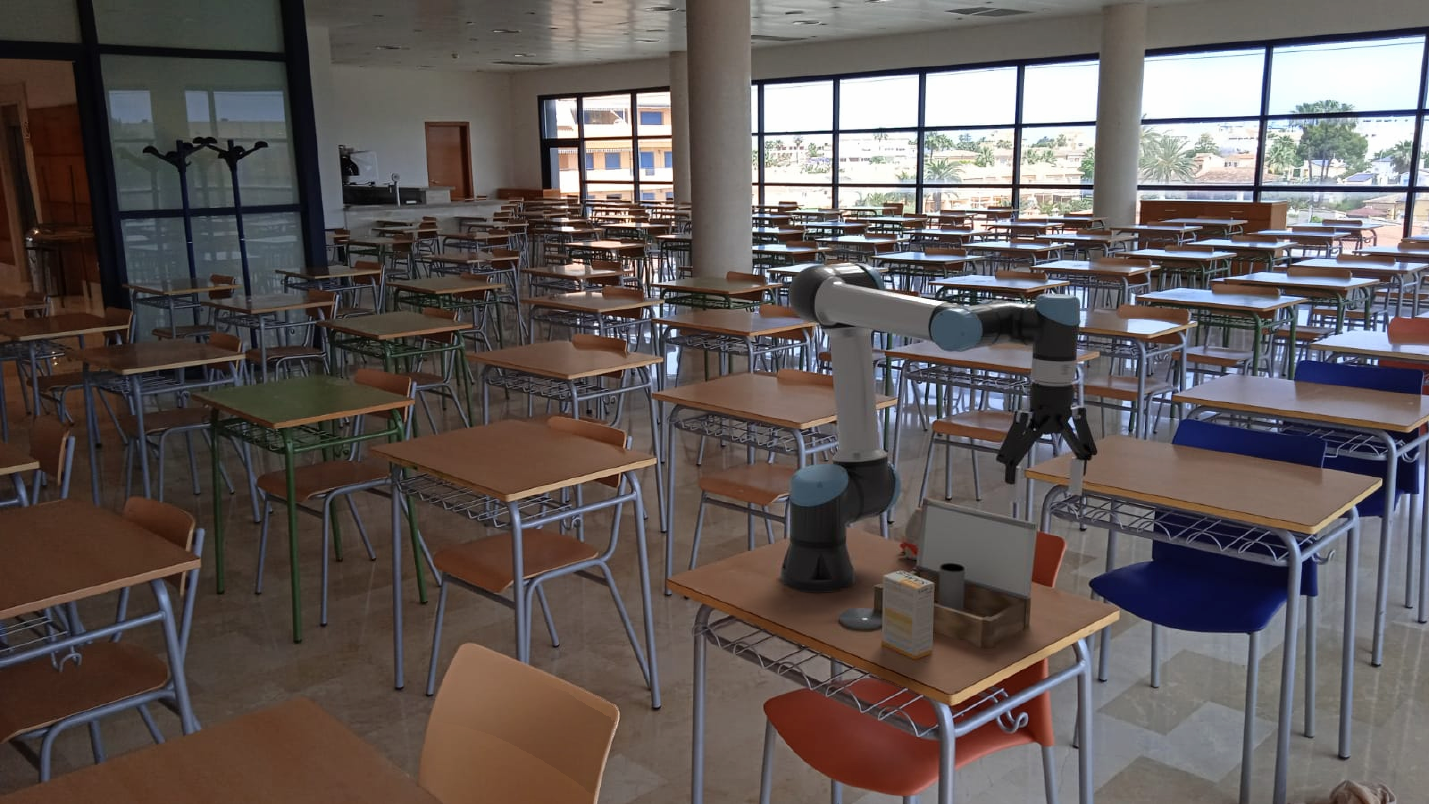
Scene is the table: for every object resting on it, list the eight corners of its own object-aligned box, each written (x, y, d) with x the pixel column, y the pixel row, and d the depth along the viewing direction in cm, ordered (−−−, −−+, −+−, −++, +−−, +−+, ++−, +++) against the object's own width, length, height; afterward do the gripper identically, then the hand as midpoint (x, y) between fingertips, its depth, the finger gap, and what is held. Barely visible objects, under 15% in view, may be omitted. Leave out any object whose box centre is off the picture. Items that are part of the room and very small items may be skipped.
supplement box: (933, 653, 183) (936, 582, 180) (914, 660, 180) (916, 588, 177) (899, 637, 189) (901, 568, 187) (880, 644, 186) (882, 574, 184)
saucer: (830, 621, 197) (830, 617, 196) (857, 608, 203) (857, 604, 202) (867, 633, 191) (867, 629, 191) (894, 620, 197) (894, 616, 197)
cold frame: (873, 612, 201) (874, 585, 199) (916, 591, 211) (917, 566, 210) (989, 650, 184) (990, 621, 183) (1029, 625, 194) (1030, 598, 193)
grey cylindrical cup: (933, 619, 197) (935, 567, 195) (945, 612, 200) (947, 561, 198) (954, 626, 194) (957, 573, 192) (966, 618, 197) (969, 566, 195)
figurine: (943, 558, 230) (941, 508, 226) (921, 569, 226) (919, 518, 222) (912, 545, 237) (910, 497, 233) (891, 555, 233) (888, 506, 230)
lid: (922, 498, 207) (925, 497, 208) (914, 569, 209) (918, 568, 210) (1034, 524, 191) (1038, 523, 192) (1026, 601, 192) (1029, 599, 193)
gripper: (1006, 390, 178) (998, 510, 182) (1124, 381, 187) (1114, 495, 191) (980, 382, 185) (973, 498, 189) (1095, 374, 193) (1086, 484, 198)
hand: (1044, 497), depth 190 cm, fingers open, 13 cm apart
